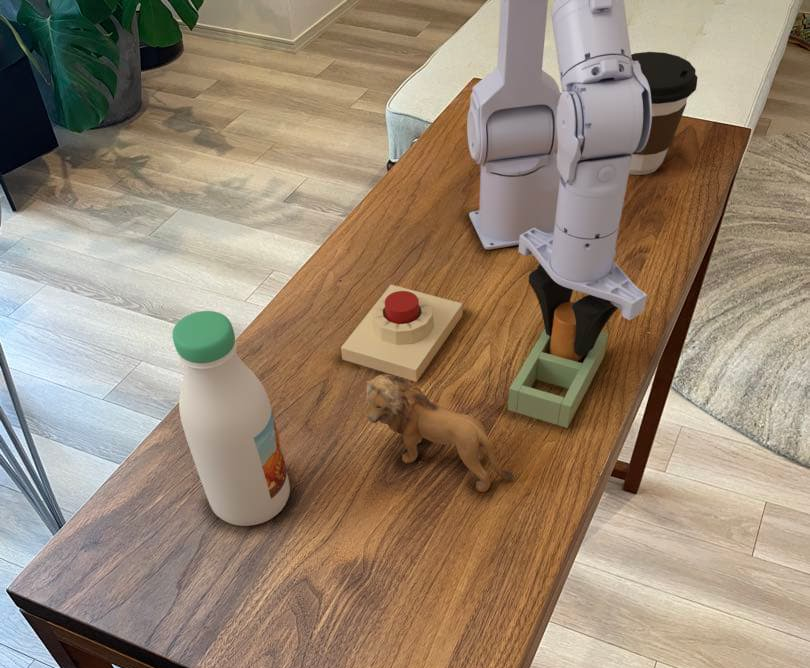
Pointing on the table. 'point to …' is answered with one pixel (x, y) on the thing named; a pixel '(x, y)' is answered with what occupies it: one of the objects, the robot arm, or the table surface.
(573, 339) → the cylinder
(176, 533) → the table surface
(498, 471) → the lion figurine
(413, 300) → the button
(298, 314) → the table surface
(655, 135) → the coffee cup
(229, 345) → the milk bottle
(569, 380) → the pod holder
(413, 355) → the box
